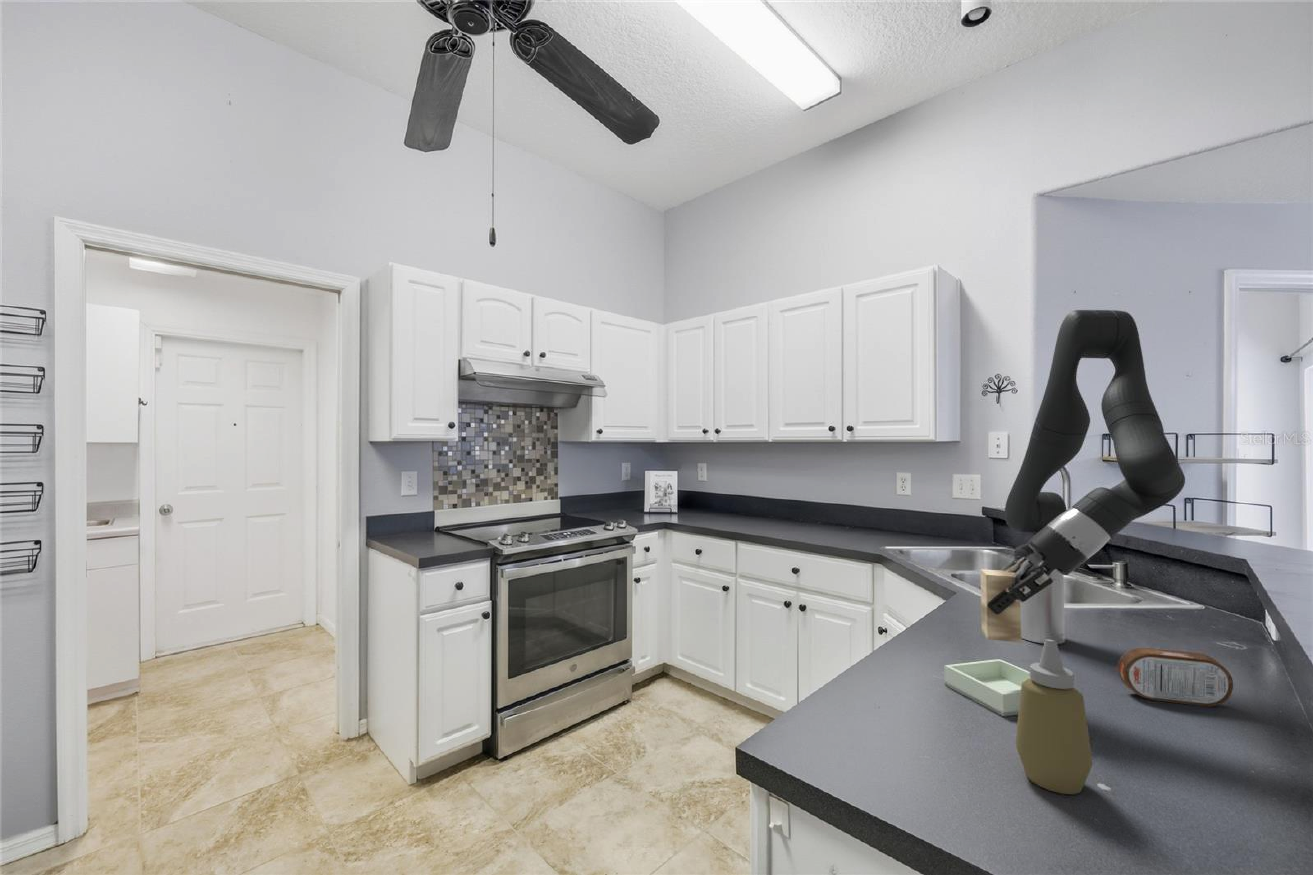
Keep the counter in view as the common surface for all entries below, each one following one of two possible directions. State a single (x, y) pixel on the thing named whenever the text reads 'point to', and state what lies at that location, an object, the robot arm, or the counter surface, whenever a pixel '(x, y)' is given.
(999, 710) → the bin
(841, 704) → the counter surface
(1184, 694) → the tin
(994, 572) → the beech block
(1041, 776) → the squeeze bottle
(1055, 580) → the robot arm
